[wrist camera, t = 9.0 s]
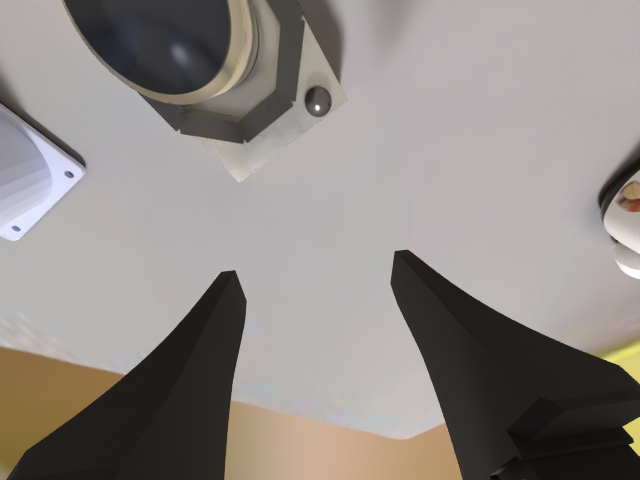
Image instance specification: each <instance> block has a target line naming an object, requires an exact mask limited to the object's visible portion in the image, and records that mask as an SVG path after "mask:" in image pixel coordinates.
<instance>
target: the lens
mask: <svg viewBox="0 0 640 480" xmlns="http://www.w3.org/2000/svg"><path fill="white" fill-rule="evenodd" d="M62 2H63V5H64V7H65V9H66V12H67V14H68V15H69V17H70V19H71V21H72V23H73V25H74V27H75V28H76V30H77V32H78V33H79V35H80V37H81V38H82V40H83V41H84V42H85V44H86V45H87V46H88V48H89V49H90V51H91V52H92V53H93V54H94V55H95V56H96V58H97V59H98V60H99V61H100V62H101V63H102V64H103V65H104V66H105V67H106V68H107V69H108V70H109V71H110V72H111V73H112V74H113V75H114V76H116V77H117V78H118V79H119V80H121V81H122V82H123V83H125V84H126V85H128V86H129V87H130V88H132V89H134V90H135V91H137V92H139V93H141V94H143V95H145V96H147V97H149V98H152V99H154V100H157V101H161V102H164V103H170V104H180V105H186V104H194V103H198V102H201V101H204V100H206V99H209V98H211V97H214V96H216V95H218V94H221V93H223V92H226V91H228V90H230V89H233V88H235V87H238V86H240V85H242V84H243V83H245V82H246V81H247V80H248V79H249V78H250V77H251V76H252V75H253V73H254V72H255V70H256V68H257V66H258V64H259V61H260V57H261V52H262V30H261V25H260V21H259V17H258V14H257V12H256V9H255V7H254V5H253V3H252V1H251V0H62Z"/></svg>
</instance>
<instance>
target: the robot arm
mask: <svg viewBox="0 0 640 480" xmlns="http://www.w3.org/2000/svg"><path fill="white" fill-rule="evenodd" d="M69 171H70V172H71V173H72V174H73V175H74V176H72V175H71V174H70V173H69ZM85 173H86V170H85V168H84V166H83V165H82V164H80V163H79V162H78V161H76V160H75V159H74V158H72V157H71V156H70V155H68V154H67V153H66V152H64V151H63V150H62V149H60V148H59V147H58V146H56V145H55V144H54V143H52V142H51V141H50V140H48V139H47V138H46V137H44V136H43V135H42V134H40V133H39V132H38V131H37V130H35V129H34V128H33V127H31V126H30V125H29V124H27V123H26V122H25V121H23V120H22V119H21V118H19V117H18V116H17V115H15V114H14V113H13V112H11V111H10V110H9V109H7V108H6V107H5V106H3V105H2V104H1V103H0V235H1V236H2V237H4V238H6V239H9V240H13V241H15V240H18V239H19V238H21V237H22V236H23V235H24V234H25V233H26V232H27V231H28V230H29V229H30V228H31V227H32V226H33V225H34V224H35V223H36V222H37V221H38V220H39V219H40V218H41V217H42V216H43V215H44V214H45V213H46V212H47V211H48V210H49V209H50V208H51V207H52V206H53V205H54V204H55V203H56V202H57V201H58V200H59V199H60V198H61V197H62V196H63V195H64V194H65V193H66V192H68V191H69V190H70V189H71V188H72V187H73V186H74V185H75V184H76V183H77V182H78V181H79V180H80V179H81V178H82V177H83V176H84V175H85ZM391 286H392V290H393V293H394V296H395V298H396V301H397V304H398V306H399V308H400V310H401V312H402V314H403V317H404V319H405V321H406V323H407V325H408V327H409V329H410V331H411V333H412V335H413V337H414V339H415V341H416V343H417V345H418V347H419V350H420V352H421V354H422V356H423V359H424V362H425V364H426V367H427V370H428V372H429V375H430V378H431V381H432V383H433V386H434V389H435V392H436V395H437V398H438V401H439V403H440V406H441V409H442V413H443V416H444V419H445V422H446V425H447V428H448V431H449V434H450V437H451V441H452V444H453V447H454V451H455V454H456V457H457V461H458V464H459V468H460V471H461V475H462V478H463V480H640V456H638V455H637V454H636V453H635V451H634V450H633V449H632V448H631V447H630V446H629V445H628V444H631V443H634V441H633V438H632V437H631V436H630V435H629V434H628V433H627V432H626V431H625V430H624V428H623V427H622V426H624V425H626V424H628V423H629V422H631V421H633V420H635V419H636V418H638V417H640V384H639V383H638V382H637V381H635V379H634V378H632V377H631V376H630V375H629V374H628V373H627V372H626V371H625V370H624V369H623V368H621V367H620V366H619V365H616V364H614V363H611V362H609V361H606V360H603V359H601V358H598V357H596V356H593V355H591V354H588V353H585V352H583V351H580V350H578V349H575V348H573V347H570V346H568V345H566V344H563V343H561V342H559V341H556V340H554V339H552V338H550V337H547V336H545V335H543V334H541V333H539V332H537V331H534V330H532V329H530V328H528V327H526V326H524V325H522V324H520V323H518V322H516V321H514V320H512V319H510V318H508V317H506V316H505V315H503V314H501V313H499V312H497V311H495V310H494V309H492V308H490V307H489V306H487V305H485V304H483V303H482V302H480V301H478V300H477V299H475V298H473V297H472V296H470V295H469V294H467V293H466V292H464V291H463V290H461V289H460V288H458V287H457V286H455V285H454V284H453V283H451V282H450V281H448V280H447V279H446V278H444V277H443V276H441V275H440V274H439V273H437V272H436V271H435V270H434V269H432V268H431V267H430V266H428V265H427V264H426V263H425V262H423V261H422V260H421V259H419V258H418V257H417V256H416V255H414V254H413V253H412V252H410V251H409V250H401V251H395V254H394V261H393V268H392V276H391ZM246 302H247V301H246V298H245V296H244V293H243V290H242V287H241V285H240V282H239V279H238V277H237V274H236V271H235V270H233V271H225V272H221V273H220V274H219V275H218V277H217V278H216V279H215V280H214V282H213V283H212V284H211V286H210V287H209V288H208V289H207V291H206V292H205V293H204V294H203V296H202V297H201V298H200V300H199V301H198V302H197V303H196V304H195V306H194V307H193V308H192V309H191V311H190V312H189V313H188V314H187V315H186V316H185V318H184V319H183V320H182V321H181V322H180V323H179V324H178V325H177V327H176V328H175V329H174V330H173V331H172V332H171V333H170V334H169V335H168V336H167V337H166V338H165V339H164V340H163V341H162V342H161V343H160V344H159V345H158V346H157V347H156V348H155V349H154V350H153V351H152V352H151V353H150V354H149V355H148V356H147V357H146V358H145V359H144V360H143V361H141V362H140V363H139V364H138V365H137V366H136V367H135V368H133V369H132V370H131V371H130V372H129V373H128V374H127V375H126V376H124V377H123V378H122V379H121V380H120V381H119V382H117V383H116V384H115V385H114V386H113V387H111V388H110V389H109V390H108V391H106V392H105V393H104V394H103V395H102V396H100V397H99V398H98V399H96V400H95V401H94V402H93V403H91V404H90V405H89V406H87V407H86V408H85V409H84V410H82V411H81V412H80V413H78V414H77V415H76V416H75V417H73V418H72V419H70V420H69V421H68V422H66V423H65V424H63V425H62V426H60V427H59V428H58V429H56V430H55V431H54V432H52V433H51V434H49V436H47V437H45V438H44V439H42V440H41V441H40V442H38V443H37V444H35V445H34V446H32V447H31V448H30V449H28V450H27V451H26V452H25V453H24V455H23V456H22V457H21V459H20V460H19V462H18V463H17V465H16V466H15V468H14V469H13V471H12V472H11V474H10V475H9V476H8V478H7V479H6V480H224V472H225V457H226V443H227V432H228V420H229V410H230V401H231V392H232V384H233V378H234V372H235V367H236V362H237V358H238V353H239V348H240V344H241V339H242V334H243V329H244V324H245V316H246Z"/></svg>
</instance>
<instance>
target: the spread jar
mask: <svg viewBox="0 0 640 480" xmlns="http://www.w3.org/2000/svg"><path fill="white" fill-rule="evenodd" d="M600 214H601V221H602V223H603V225H604V227H605V229H606V230H607V232H608V233H609V234H610V235H612V236H613V237H614V238H615V239H616V240H618V241H619V243H618V244H617V245H616V246H615V248H614V252H613V254H614V257H615V259H616V262H617V264H618V266H619V267H620V268H621V270H622V271H624V272H625V273H626V274H628V275H630V276H632V277H634V278H637V279H640V159H639V160H638V161H636V162H635V163H633V164H632V165H631V166H630V167H628V168H627V169H626V170H625V171H624V172H623V173H622V174H621V175H620V176H619V177H618V178H617V179H616V180H615V181H614V182H613V184H612V185H611V186H610V188H609V189H608V191H607V193H606V195H605V197H604V200H603V202H602V206H601V212H600Z"/></svg>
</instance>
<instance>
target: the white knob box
mask: <svg viewBox="0 0 640 480" xmlns="http://www.w3.org/2000/svg"><path fill="white" fill-rule="evenodd" d="M251 1H252V3H253V5H254V7H255V9H256V12H257V14H258V17H259V21H260V25H261V30H262V52H261V57H260V61H259V64H258V66H257V68H256V70H255V72H254V73H253V75H252V76H251V77H250V78H249V79H248V80H247V81H246V82H245V83H243V84H242V85H240V86H238V87H235V88H233V89H230V90H228V91H226V92H223V93H221V94H218V95H216V96H214V97H211V98H209V99H206V100H204V101H201V102H198V103H194V104H186V105H180V104H170V103H164V102H161V101H157V100H154V99H152V98H149V97H147V96H145V95H143V94H141V93H139V92H138V93H139V94H140V95H141V96H142V97H143V98H144V99H145V100H146V101H147V102H148V103H149V104H150V105H151V106H152V107H153V108H154V109H155V110H156V111H157V112H158V113H159V114H160V115H161V116H162V117H163V118H164V119H165V120H166V121H167V123H168V124H169V125H170V126H171V127H172V128H173V129H174V130H175V131H178V130H179V129H180V131H181V134H185V135H191V136H195V137H196V138H197V139H198V140H199V141H200V142H201V143H202V144H203V145H204V146H205V148H206V149H207V150H208V151H209V152H210V153H211V154H212V155H213V156H214V157H215V158H216V159H217V160H218V161H219V162H220V163H221V164H222V165H223V166H224V167H225V168H226V170H227V171H228V172H229V173H230V174H231V175H232V176H233V177H234V178H235V179H236V180H237V181H238V182H239V183H240V182H241V181H242V180H243V179H245V178H246V177H247V176H249V175H250V174H251V173H253V172H254V171H255V170H257V169H258V168H259V167H261V166H262V165H263V164H264V163H266V162H267V161H268V160H270V159H271V158H272V157H274V156H275V155H276V154H278V153H279V152H280V151H281V150H283V149H284V148H285V147H287V146H288V145H289V144H291V143H292V142H293V141H295V140H296V139H297V138H299V137H300V136H301V135H302V134H304V133H305V132H306V131H308V130H309V129H310V128H312V127H313V126H314V125H316V124H317V123H318V122H319V121H321V120H322V119H323V118H325V117H326V116H327V115H329V114H330V113H331V112H333V111H334V110H335V109H337V108H338V107H339V106H340V105H342V104H343V103H344V102H346V101H347V100H348V99H347V97H346V95H345V93H344V92H343V90H342V88H341V86H340V84H339V82H338V80H337V78H336V76H335V75H334V73H333V71H332V69H331V67H330V65H329V63H328V61H327V59H326V58H325V56H324V54H323V52H322V50H321V48H320V46H319V44H318V42H317V41H316V39H315V37H314V35H313V33H312V31H311V29H310V27H309V25H308V24H307V22H306V20H305V18H304V13H303V11H302V9H301V7H300V5H299V3H298V1H297V0H251Z"/></svg>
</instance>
